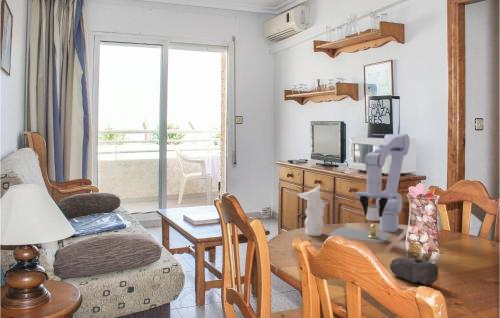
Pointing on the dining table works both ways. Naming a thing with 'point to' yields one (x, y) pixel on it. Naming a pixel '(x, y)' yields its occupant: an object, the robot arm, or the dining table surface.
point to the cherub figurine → (313, 211)
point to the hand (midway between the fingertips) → (373, 215)
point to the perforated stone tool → (415, 270)
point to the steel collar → (372, 213)
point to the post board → (362, 234)
